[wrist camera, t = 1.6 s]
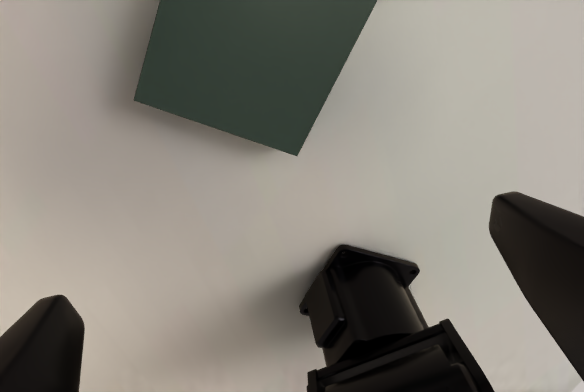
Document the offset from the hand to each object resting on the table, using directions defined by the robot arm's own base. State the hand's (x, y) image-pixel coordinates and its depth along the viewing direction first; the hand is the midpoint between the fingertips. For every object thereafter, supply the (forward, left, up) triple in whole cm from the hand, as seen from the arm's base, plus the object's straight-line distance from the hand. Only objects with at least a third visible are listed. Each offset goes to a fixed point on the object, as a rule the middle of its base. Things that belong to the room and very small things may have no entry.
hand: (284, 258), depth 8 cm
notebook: (0, -3, -13) cm, 13 cm away
